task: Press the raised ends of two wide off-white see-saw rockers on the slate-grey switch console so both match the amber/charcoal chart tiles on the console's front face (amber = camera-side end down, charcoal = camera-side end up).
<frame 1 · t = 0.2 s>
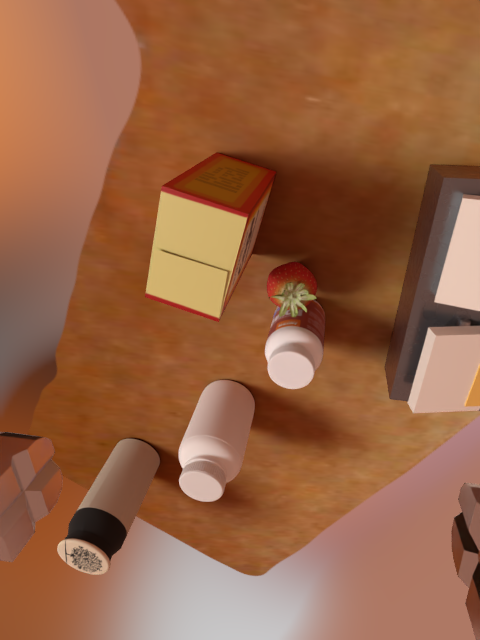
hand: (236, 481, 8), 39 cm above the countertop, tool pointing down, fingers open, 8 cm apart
pill bottle: (299, 315, 50), on the countertop
fruit: (295, 269, 47), on the countertop
baking soda box: (235, 205, 45), on the countertop
pill bottle 2: (229, 398, 60), on the countertop
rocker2: (455, 371, 41), point 8 cm above the countertop, hinge at -15.0°
console: (453, 283, 44), on the countertop
travel mug: (139, 453, 70), on the countertop
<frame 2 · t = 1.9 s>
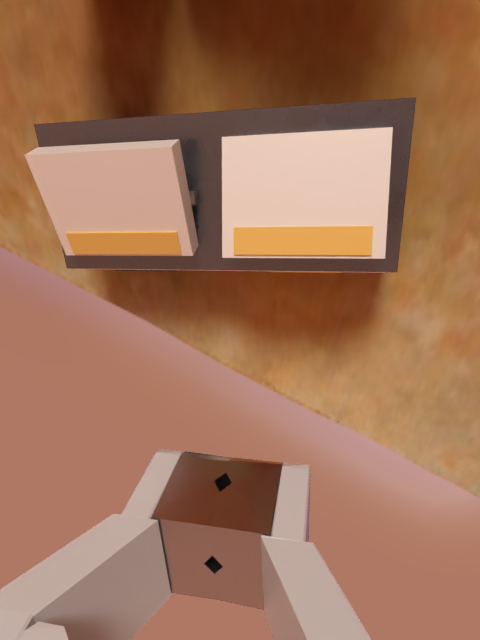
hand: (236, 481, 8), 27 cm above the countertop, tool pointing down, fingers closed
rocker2: (116, 203, 27), point 8 cm above the countertop, hinge at -15.0°
console: (232, 186, 32), on the countertop
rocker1: (302, 198, 24), point 8 cm above the countertop, hinge at 15.0°
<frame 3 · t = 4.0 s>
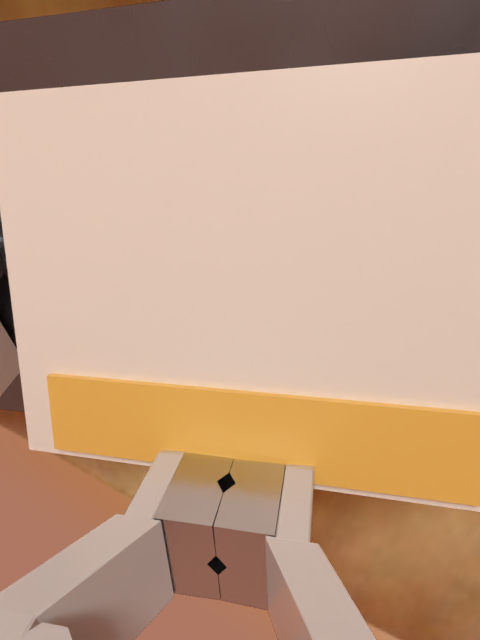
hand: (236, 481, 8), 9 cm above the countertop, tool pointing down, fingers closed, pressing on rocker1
console: (138, 215, 16), on the countertop
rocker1: (253, 291, 8), point 8 cm above the countertop, hinge at 12.2°, touching gripper
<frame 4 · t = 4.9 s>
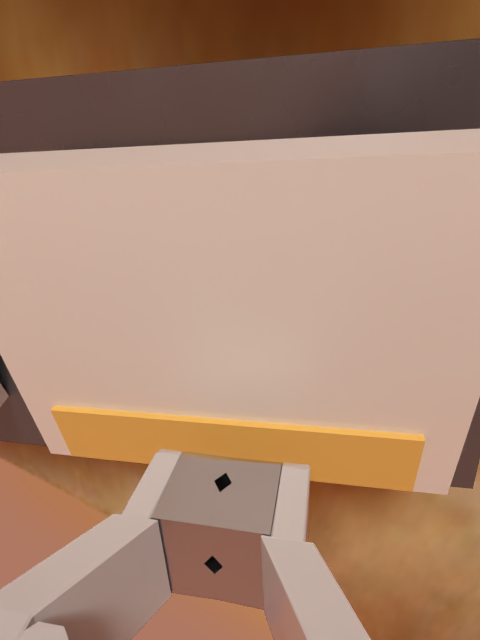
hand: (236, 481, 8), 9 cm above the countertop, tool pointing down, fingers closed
console: (119, 245, 16), on the countertop
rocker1: (221, 335, 8), point 8 cm above the countertop, hinge at -10.4°
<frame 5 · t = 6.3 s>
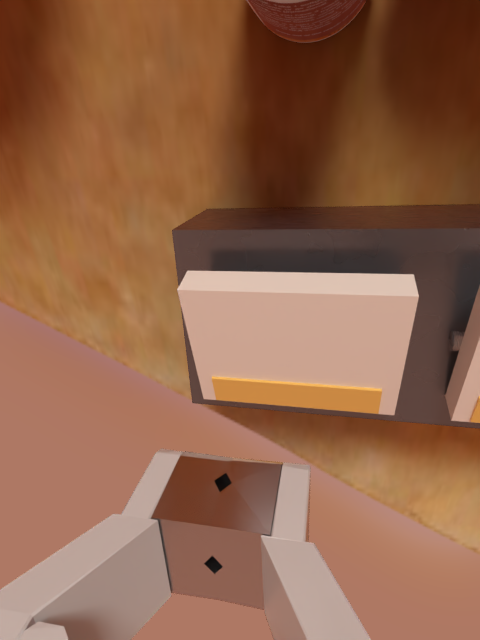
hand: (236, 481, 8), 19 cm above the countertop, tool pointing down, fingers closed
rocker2: (294, 346, 19), point 8 cm above the countertop, hinge at -15.0°
console: (407, 291, 25), on the countertop
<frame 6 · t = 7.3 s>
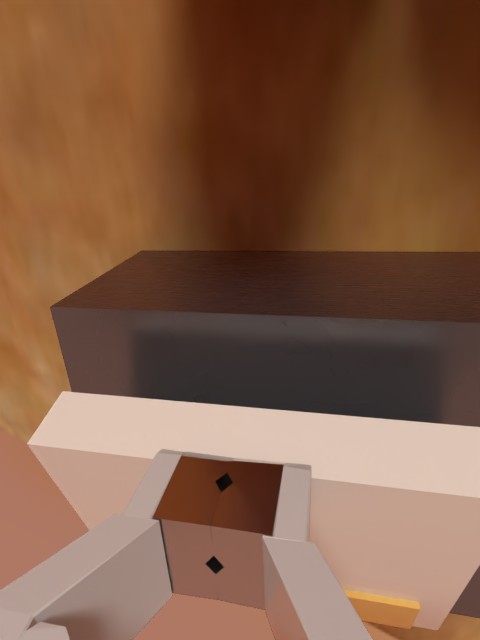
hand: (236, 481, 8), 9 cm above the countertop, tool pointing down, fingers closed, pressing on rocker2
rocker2: (260, 520, 11), point 8 cm above the countertop, hinge at -14.9°, touching gripper
console: (443, 376, 16), on the countertop
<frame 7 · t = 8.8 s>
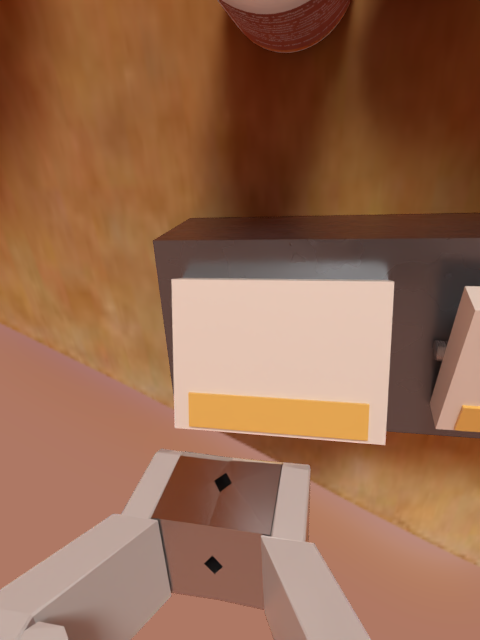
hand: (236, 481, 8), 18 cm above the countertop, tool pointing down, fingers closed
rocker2: (277, 356, 19), point 8 cm above the countertop, hinge at 15.4°, touching console
console: (391, 299, 25), on the countertop
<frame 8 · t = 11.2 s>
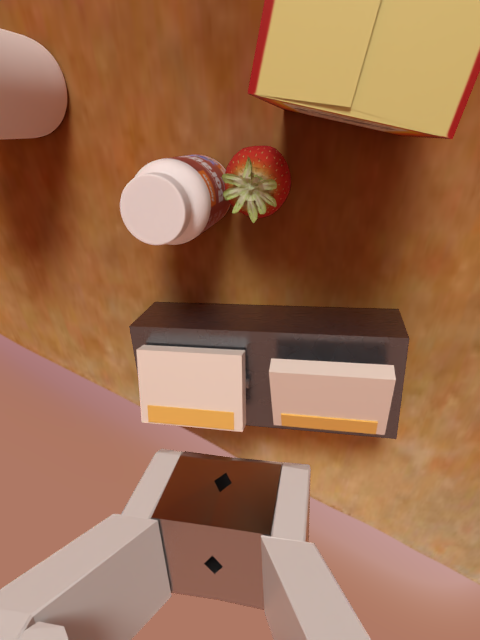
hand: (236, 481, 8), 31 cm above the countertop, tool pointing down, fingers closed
pill bottle: (201, 190, 37), on the countertop
fruit: (266, 176, 36), on the countertop
baking soda box: (354, 76, 31), on the countertop
pill bottle 2: (31, 90, 37), on the countertop
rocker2: (191, 387, 37), point 8 cm above the countertop, hinge at 10.8°
console: (270, 350, 42), on the countertop
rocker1: (329, 398, 34), point 8 cm above the countertop, hinge at -16.2°, touching console
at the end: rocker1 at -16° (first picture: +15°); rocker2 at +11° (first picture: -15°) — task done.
